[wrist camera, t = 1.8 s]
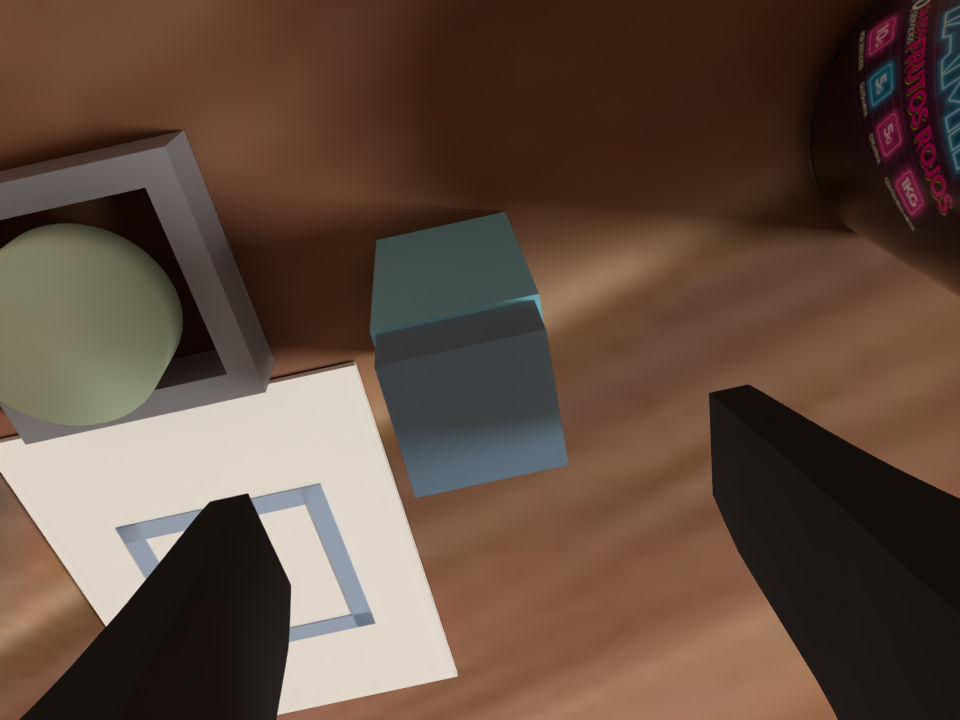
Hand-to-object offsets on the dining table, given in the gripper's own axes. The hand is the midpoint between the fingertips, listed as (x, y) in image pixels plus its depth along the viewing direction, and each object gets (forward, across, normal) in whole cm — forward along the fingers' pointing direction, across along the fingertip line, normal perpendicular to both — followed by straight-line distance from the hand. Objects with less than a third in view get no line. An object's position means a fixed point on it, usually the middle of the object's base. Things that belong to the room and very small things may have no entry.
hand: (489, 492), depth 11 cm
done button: (+7, +8, -2) cm, 11 cm away
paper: (+8, +8, +8) cm, 14 cm away
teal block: (+8, 0, 0) cm, 8 cm away
